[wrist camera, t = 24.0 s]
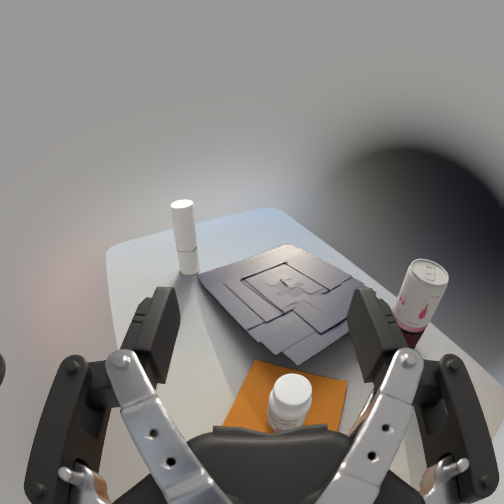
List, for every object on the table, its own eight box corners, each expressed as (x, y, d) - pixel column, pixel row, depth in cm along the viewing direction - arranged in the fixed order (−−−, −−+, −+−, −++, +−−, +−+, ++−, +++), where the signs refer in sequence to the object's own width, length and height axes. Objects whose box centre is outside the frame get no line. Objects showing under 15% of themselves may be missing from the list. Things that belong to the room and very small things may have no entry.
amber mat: (321, 485, 22) (322, 484, 22) (208, 453, 26) (208, 452, 26) (346, 383, 35) (347, 381, 34) (254, 361, 39) (255, 359, 38)
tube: (185, 277, 56) (175, 210, 48) (177, 267, 59) (167, 203, 51) (203, 270, 58) (196, 204, 50) (194, 261, 61) (187, 198, 53)
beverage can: (415, 334, 41) (447, 265, 33) (411, 361, 36) (451, 290, 28) (383, 324, 44) (410, 253, 36) (376, 350, 39) (408, 277, 31)
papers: (285, 384, 34) (286, 368, 32) (196, 286, 57) (193, 271, 55) (389, 311, 45) (393, 295, 43) (288, 253, 68) (288, 239, 66)
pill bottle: (286, 397, 33) (294, 362, 28) (311, 419, 30) (325, 389, 25) (258, 416, 30) (260, 386, 26) (283, 442, 27) (292, 417, 23)
